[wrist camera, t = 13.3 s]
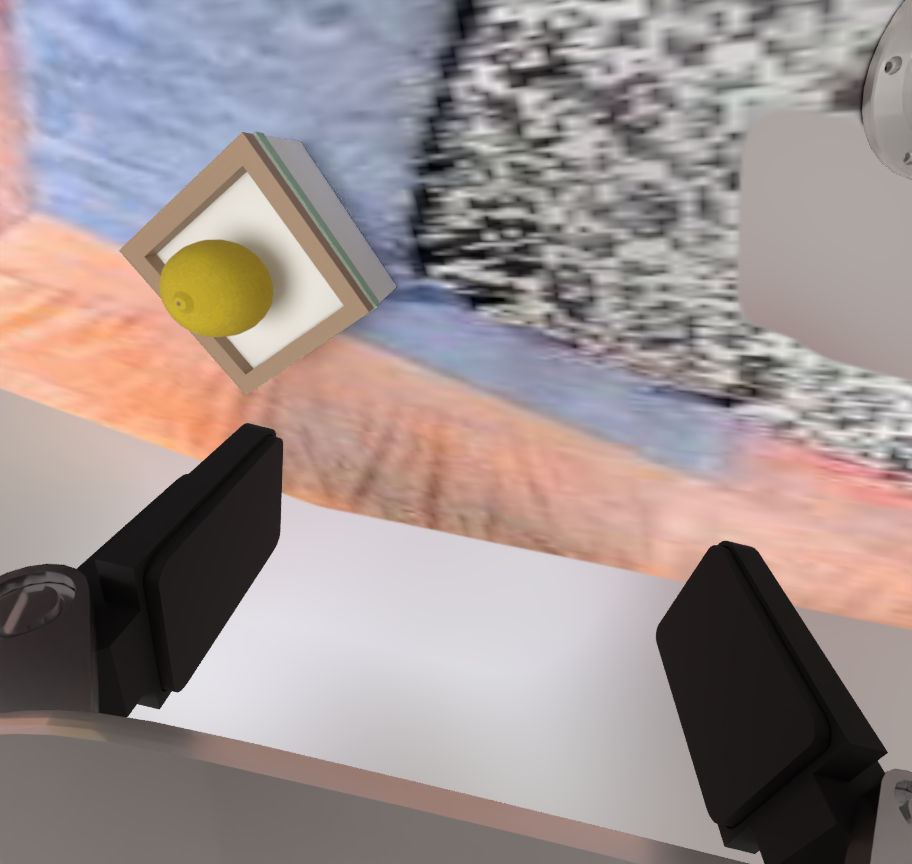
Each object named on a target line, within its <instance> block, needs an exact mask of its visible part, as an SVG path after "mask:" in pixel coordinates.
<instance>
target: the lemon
mask: <svg viewBox="0 0 912 864" xmlns="http://www.w3.org/2000/svg"><path fill="white" fill-rule="evenodd" d="M159 288H160V295H161V298H162V302H163V304H164V306H165V308H166V310H167V311H168V312H169V314H170V315H171V316H172V318H173V319H174V320H175V321H176V322H178V323H179V324H180V325H181V326H182V327H184V328H186V329H187V330H189V331H191V332H193V333H196V334H199V335H202V336H208V337H227V336H233V335H238V334H241V333H243V332H245V331H247V330H249V329H251V328H253V327H255V326H256V325H257V324H258V323H259V322H260V321H261V320H262V319H263V318H264V317H265V316H266V314H267V312H268V310H269V309H270V307H271V304H272V299H273V295H274V294H273V283H272V279H271V276H270V273H269V271H268V269H267V268H266V266H265V264H264V263H263V262H262V261H261V259H260V258H259V257H258V256H257V255H256V254H254V253H253V252H252V251H251V250H249V249H247V248H246V247H244V246H242V245H240V244H238V243H234V242H230V241H226V240H202V241H198V242H196V243H193V244H190V245H188V246H185V247H183V248H182V249H180V250H179V251H178V252H177V253H175V254H174V255H173V256H172V257H171V258H170V259H169V260H168V261H167V263H166V265H165V266H164V268H163V270H162V272H161V277H160V281H159Z"/></svg>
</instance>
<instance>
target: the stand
mask: <svg viewBox="0 0 912 864" xmlns="http://www.w3.org/2000/svg"><path fill="white" fill-rule="evenodd" d="M202 240H226V241H230V242H234V243H238V244H240V245H242V246H244V247H246V248H247V249H249V250H251V251H252V252H253V253H254V254H256V255H257V256H258V257H259V258H260V259H261V261H262V262H263V263H264V264H265V266H266V268H267V269H268V271H269V273H270V276H271V279H272V283H273V294H274V295H273V299H272V304H271V307H270V309H269V310H268V312H267V314H266V316H265V317H264V318H263V319H262V320H261V321H260V322H259V323H258V324H257V325H256V326H255V327H253V328H251V329H249V330H247V331H245V332H243V333H241V334H238V335H233V336H227V337H208V336H202V335H199V334H196V333H193V332H191V331H190V332H191V333H192V334H193V336H194V337H195V338H196V339H197V340H198V341H199V342H200V344H201V345H202V346H203V347H204V348H205V349H206V350H207V352H208V353H209V354H210V355H211V356H212V357H213V358H214V360H215V361H216V362H217V363H218V364H219V365H220V366H221V368H222V369H223V370H224V371H225V372H226V373H227V374H228V376H229V377H230V378H231V379H232V380H233V381H234V382H235V384H236V385H237V386H238V387H239V388H240V389H241V390H242V391H243V393H244V394H245V395H247V394H248V393H250V392H251V391H253V390H254V389H256V388H258V387H259V386H261V385H262V384H264V383H265V382H267V381H268V380H270V379H271V378H273V377H274V376H276V375H277V374H279V373H280V372H282V371H283V370H285V369H286V368H288V367H289V366H290V365H292V364H293V363H295V362H296V361H298V360H299V359H301V358H302V357H304V356H305V355H307V354H308V353H310V352H311V351H313V350H314V349H316V348H317V347H319V346H320V345H322V344H323V343H325V342H326V341H328V340H329V339H331V338H332V337H334V336H335V335H337V334H338V333H340V332H341V331H343V330H344V329H346V328H347V327H349V326H350V325H352V324H353V323H355V322H356V321H358V320H359V319H361V318H362V317H364V316H365V315H367V314H368V313H370V312H371V311H373V310H374V309H375V308H377V307H378V306H379V305H380V304H381V303H380V302H381V301H382V300H383V299H384V298H385V297H387V296H388V295H389V294H390V293H391V292H392V291H393V290H394V289H395V288H396V287H397V286H396V285H395V283H394V282H393V280H392V279H391V277H390V276H389V274H388V273H387V271H386V270H385V268H384V267H383V265H382V264H381V262H380V261H379V259H378V258H377V256H376V255H375V253H374V252H373V250H372V249H371V247H370V246H369V244H368V243H367V241H366V240H365V238H364V237H363V235H362V234H361V232H360V231H359V229H358V228H357V226H356V225H355V223H354V222H353V220H352V219H351V217H350V216H349V214H348V213H347V211H346V210H345V208H344V207H343V205H342V204H341V202H340V201H339V199H338V198H337V196H336V195H335V193H334V191H333V190H332V188H331V187H330V185H329V184H328V182H327V181H326V179H325V178H324V176H323V175H322V173H321V172H320V170H319V169H318V167H317V166H316V164H315V163H314V161H313V160H312V158H311V157H310V155H309V154H308V152H307V151H306V149H305V148H304V146H303V145H302V143H301V142H298V141H292V140H286V139H280V138H274V137H268V136H265V135H264V134H263V133H260V132H254V133H253V134H250V133H244V132H242V133H241V134H240V135H239V136H238V137H237V138H236V139H235V140H234V141H233V142H232V143H231V144H230V145H228V146H227V147H226V148H225V149H224V150H223V151H222V152H221V153H220V154H219V155H218V156H217V157H216V158H215V159H214V160H213V161H212V162H211V163H210V164H209V165H208V166H207V167H206V168H205V169H203V170H202V171H201V172H200V173H199V174H198V175H197V176H196V177H195V178H194V179H193V180H192V181H191V182H190V183H189V184H188V185H187V186H186V187H185V188H184V189H183V190H182V191H181V192H180V193H179V194H177V195H176V196H175V197H174V198H173V199H172V200H171V201H170V202H169V203H168V204H167V205H166V206H165V207H164V208H163V209H162V210H161V211H160V212H159V213H158V214H157V215H156V216H155V217H154V218H153V219H151V220H150V221H149V222H148V223H147V224H146V225H145V226H144V227H143V228H142V229H141V230H140V231H139V232H138V233H137V234H136V235H135V236H134V237H133V238H132V239H131V240H130V241H129V242H128V243H126V244H125V245H124V246H123V247H122V248H121V249H120V250H119V251H120V252H121V253H122V255H123V256H124V257H125V258H126V259H127V260H128V261H129V263H130V264H131V265H132V266H133V267H134V268H135V269H136V270H137V272H138V273H139V274H140V275H141V276H142V277H143V278H144V280H145V281H146V282H147V283H148V284H149V285H150V286H151V288H152V289H153V290H154V291H155V292H156V293H157V294H158V296H159V297H160V298H161V295H160V288H159V281H160V277H161V272H162V270H163V268H164V266H165V265H166V263H167V261H168V260H169V259H170V258H171V257H172V256H173V255H174V254H175V253H177V252H178V251H179V250H180V249H182V248H183V247H185V246H188V245H190V244H193V243H196V242H198V241H202ZM161 299H162V298H161Z"/></svg>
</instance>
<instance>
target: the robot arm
mask: <svg viewBox="0 0 912 864" xmlns="http://www.w3.org/2000/svg"><path fill="white" fill-rule="evenodd" d="M885 65H887V69H886V71H885ZM862 114H863V123H864V131H865V133H866V136H867V139H868V142H869V145H870V147H871V149H872V150H873V152H874V153H875V155H876V156H877V158H878V159H879V160H880V162H881V163H883V164H884V165H885V166H886V167H888V168H889V169H890V170H891V171H893V172H894V173H896V174H899V175H901V176H904V177H906V178H908V179H911V180H912V0H905V1H904V3H903V4H902V5H901V7H900V8H899V9H898V10H897V12H896V13H895V15H894V17H893V18H892V20H891V22H890V24H889V25H888V27H887V29H886V30H885V32H884V34H883V36H882V37H881V39H880V42H879V44H878V46H877V49H876V51H875V54H874V56H873V58H872V61H871V63H870V67H869V70H868V74H867V78H866V82H865V86H864V94H863V106H862ZM904 156H905V158H904ZM282 465H283V441H282V439H281V438H278V437H276V433H275V431H274V430H273V429H270V428H265V427H261V426H257V425H253V424H249V423H245V424H244V425H242V426H241V427H240V428H239V429H238V430H237V431H236V432H235V433H233V434H232V435H231V436H230V437H229V438H228V439H227V440H226V441H225V442H223V443H222V444H221V445H220V446H219V447H218V448H217V449H216V450H215V451H214V452H212V453H211V454H210V455H209V456H208V457H207V458H206V459H205V460H204V461H202V462H201V463H200V464H199V465H198V466H197V467H196V468H195V469H194V470H193V471H191V472H190V473H189V474H185V475H183V476H182V477H180V478H179V479H177V480H176V481H175V482H174V483H173V484H171V486H169V487H168V488H167V489H166V490H165V491H164V492H163V493H162V494H160V495H159V496H158V497H157V498H156V499H155V500H153V501H152V502H151V503H150V504H149V505H148V506H147V507H146V508H144V509H143V510H142V511H141V512H140V513H139V514H138V515H137V516H135V517H134V518H133V519H132V520H131V521H130V522H129V523H128V524H126V525H125V527H123V528H122V529H121V530H120V531H119V532H117V533H116V534H115V535H114V536H113V537H112V538H111V539H110V540H109V541H107V542H106V543H105V544H104V545H103V546H102V547H101V548H100V549H98V550H97V551H96V552H95V553H94V554H93V555H92V556H91V557H89V558H88V559H87V560H86V561H85V562H84V563H83V564H82V565H80V566H79V567H78V568H77V569H75V568H72V567H69V566H66V565H59V564H42V565H34V566H28V567H24V568H21V569H17V570H14V571H11V572H7V573H5V574H3V575H1V576H0V864H748V863H744V862H740V861H736V860H732V859H728V858H724V857H720V856H716V855H712V854H708V853H704V852H700V851H696V850H692V849H688V848H684V847H680V846H676V845H671V844H668V843H664V842H659V841H656V840H652V839H648V838H644V837H639V836H636V835H632V834H628V833H624V832H620V831H616V830H611V829H607V828H603V827H599V826H595V825H591V824H587V823H583V822H579V821H575V820H571V819H567V818H562V817H558V816H554V815H550V814H545V813H542V812H537V811H533V810H529V809H525V808H521V807H517V806H513V805H509V804H505V803H501V802H496V801H493V800H488V799H484V798H480V797H476V796H472V795H468V794H463V793H459V792H455V791H451V790H447V789H443V788H438V787H435V786H430V785H426V784H422V783H418V782H414V781H409V780H406V779H401V778H397V777H393V776H388V775H384V774H380V773H376V772H371V771H368V770H363V769H359V768H354V767H351V766H346V765H342V764H338V763H334V762H330V761H325V760H321V759H317V758H312V757H308V756H304V755H300V754H296V753H291V752H287V751H283V750H279V749H274V748H270V747H266V746H262V745H258V744H253V743H249V742H244V741H240V740H235V739H230V738H226V737H221V736H216V735H212V734H207V733H202V732H198V731H193V730H189V729H184V728H179V727H175V726H170V725H166V724H161V723H156V722H151V721H145V720H138V719H133V718H126V717H128V716H129V714H130V713H131V711H132V710H133V709H134V707H135V706H136V705H137V704H139V705H143V706H148V707H152V708H156V709H160V708H161V707H162V705H163V704H164V702H165V701H166V699H167V698H168V696H169V695H170V693H171V692H172V691H174V692H179V691H181V690H182V689H183V688H184V687H185V685H186V684H187V683H188V681H189V680H190V678H191V677H192V675H193V674H194V672H195V670H196V669H197V667H198V666H199V664H200V663H201V661H202V660H203V658H204V657H205V655H206V654H207V652H208V651H209V649H210V648H211V646H212V644H213V643H214V641H215V640H216V638H217V637H218V635H219V633H220V632H221V631H222V629H223V628H224V626H225V624H226V623H227V621H228V620H229V618H230V617H231V615H232V614H233V612H234V611H235V609H236V608H237V606H238V605H239V603H240V601H241V600H242V598H243V597H244V595H245V594H246V592H247V591H248V589H249V588H250V586H251V585H252V583H253V581H254V580H255V578H256V577H257V575H258V574H259V572H260V571H261V569H262V568H263V566H264V565H265V563H266V562H267V560H268V558H269V557H270V555H271V554H272V552H273V551H274V549H275V547H276V545H277V543H278V540H279V536H280V524H281V494H282ZM656 641H657V645H658V649H659V652H660V655H661V659H662V662H663V665H664V669H665V672H666V675H667V679H668V682H669V685H670V689H671V692H672V695H673V698H674V702H675V705H676V708H677V712H678V715H679V718H680V722H681V725H682V728H683V731H684V735H685V738H686V742H687V745H688V748H689V752H690V755H691V758H692V761H693V765H694V768H695V771H696V775H697V778H698V781H699V785H700V788H701V791H702V795H703V798H704V801H705V805H706V808H707V810H708V813H709V815H710V817H711V819H712V820H713V821H714V822H715V823H717V824H718V827H719V830H720V834H721V837H722V840H723V843H724V846H725V847H728V848H733V849H737V850H741V851H745V852H749V853H753V854H755V853H757V852H758V851H759V850H760V852H761V855H762V858H763V860H764V863H765V864H912V772H910V771H907V770H900V769H893V770H890V771H887V772H884V771H883V769H882V767H881V766H880V764H879V763H878V760H879V759H880V758H881V757H883V756H884V755H885V754H887V753H888V752H887V751H886V749H885V747H884V746H883V744H882V743H881V741H880V740H879V738H878V737H877V735H876V733H875V732H874V730H873V729H872V728H871V726H870V724H869V723H868V721H867V720H866V718H865V717H864V715H863V713H862V712H861V710H860V709H859V707H858V706H857V704H856V702H855V701H854V699H853V698H852V696H851V695H850V693H849V692H848V690H847V689H846V687H845V685H844V684H843V683H842V681H841V679H840V678H839V676H838V675H837V673H836V671H835V670H834V669H833V667H832V665H831V664H830V662H829V661H828V659H827V658H826V656H825V654H824V653H823V651H822V650H821V649H820V647H819V645H818V644H817V642H816V641H815V639H814V637H813V636H812V634H811V633H810V631H809V630H808V628H807V627H806V625H805V624H804V622H803V620H802V619H801V617H800V616H799V614H798V613H797V611H796V610H795V608H794V606H793V605H792V603H791V602H790V600H789V599H788V597H787V596H786V594H785V593H784V591H783V589H782V588H781V586H780V585H779V583H778V582H777V580H776V579H775V577H774V575H773V574H772V572H771V571H770V569H769V568H768V566H767V565H766V563H765V562H764V560H763V558H762V557H761V555H760V554H759V552H758V551H757V550H756V549H755V548H753V547H750V546H746V545H742V544H737V543H733V542H729V541H722V542H721V543H719V544H718V545H713V546H711V547H710V548H709V549H708V551H707V552H706V554H705V555H704V557H703V558H702V560H701V561H700V563H699V564H698V566H697V567H696V569H695V570H694V572H693V573H692V575H691V576H690V578H689V579H688V581H687V582H686V584H685V586H684V587H683V589H682V590H681V592H680V593H679V595H678V596H677V598H676V599H675V601H674V602H673V604H672V605H671V607H670V608H669V610H668V611H667V613H666V614H665V616H664V617H663V619H662V620H661V622H660V623H659V625H658V628H657V632H656Z"/></svg>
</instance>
